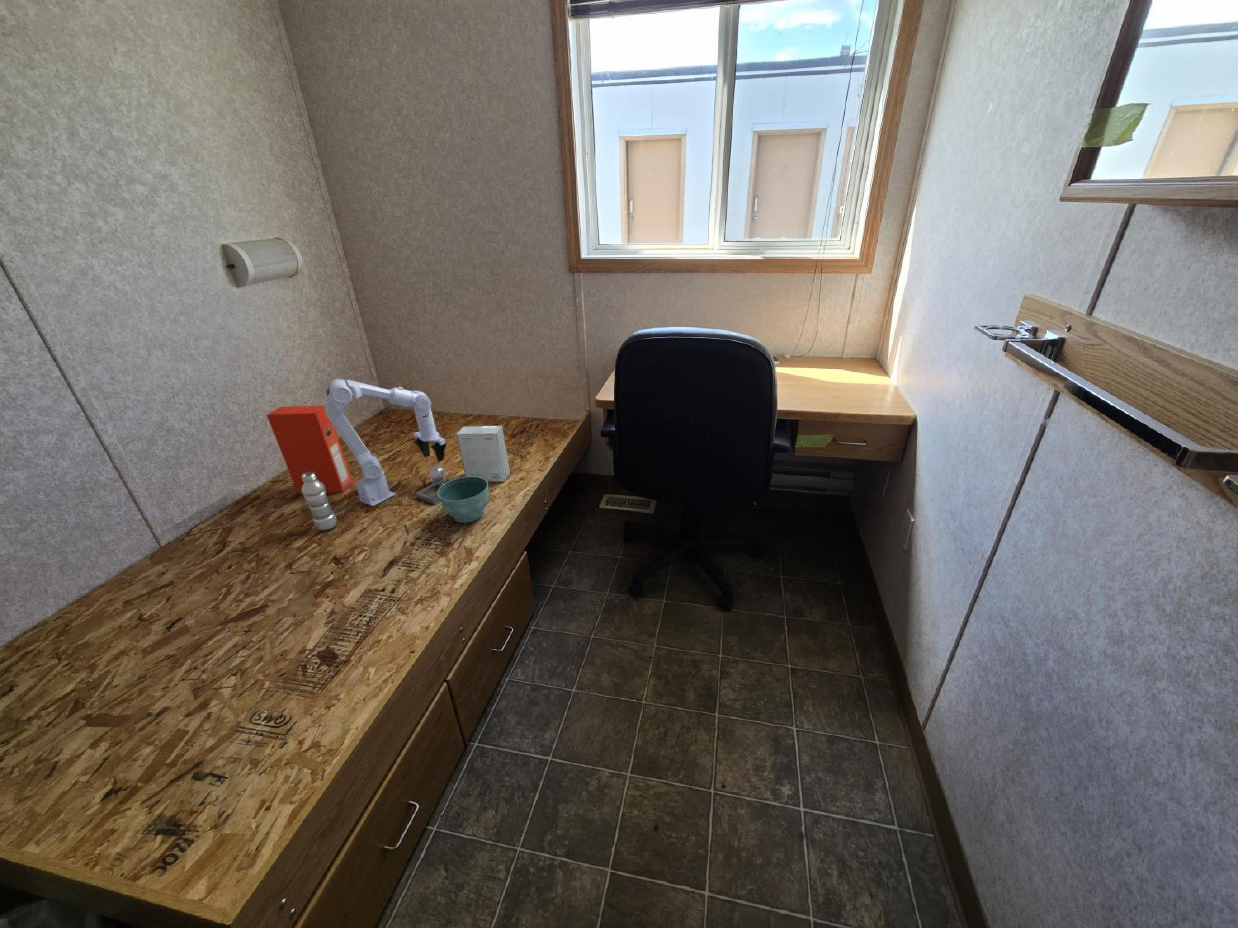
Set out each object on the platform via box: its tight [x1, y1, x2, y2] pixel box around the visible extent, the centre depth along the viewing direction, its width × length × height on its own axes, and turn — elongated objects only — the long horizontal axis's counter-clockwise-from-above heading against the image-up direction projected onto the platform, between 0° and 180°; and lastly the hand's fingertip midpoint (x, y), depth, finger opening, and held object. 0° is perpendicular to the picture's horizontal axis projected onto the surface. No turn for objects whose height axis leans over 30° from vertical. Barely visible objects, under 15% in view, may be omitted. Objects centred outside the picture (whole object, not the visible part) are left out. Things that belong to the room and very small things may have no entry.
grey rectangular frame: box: [414, 481, 444, 506], centre depth 182 cm, size 10×10×2 cm
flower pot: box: [437, 476, 489, 524], centre depth 167 cm, size 16×16×11 cm
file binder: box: [266, 404, 354, 495], centre depth 183 cm, size 8×17×32 cm, turn 89°
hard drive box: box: [455, 425, 511, 483], centre depth 188 cm, size 16×8×20 cm, turn 84°
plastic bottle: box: [302, 472, 338, 531], centre depth 162 cm, size 6×7×20 cm
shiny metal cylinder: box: [428, 465, 447, 485], centre depth 190 cm, size 5×5×6 cm
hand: (434, 458), depth 188 cm, fingers open, 7 cm apart
